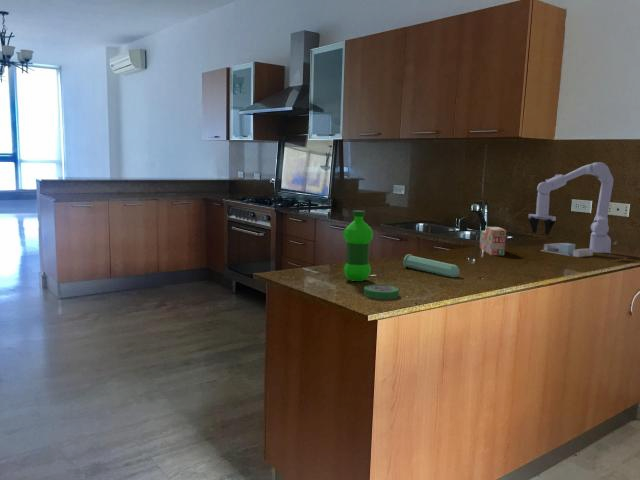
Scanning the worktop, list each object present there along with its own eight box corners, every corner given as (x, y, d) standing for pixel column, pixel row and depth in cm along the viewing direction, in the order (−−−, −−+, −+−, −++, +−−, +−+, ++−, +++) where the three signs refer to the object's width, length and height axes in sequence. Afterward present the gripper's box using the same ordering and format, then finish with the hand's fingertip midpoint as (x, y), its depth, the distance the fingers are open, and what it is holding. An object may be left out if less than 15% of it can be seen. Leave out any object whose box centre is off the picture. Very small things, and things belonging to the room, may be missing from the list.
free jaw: (555, 248, 272) (555, 242, 272) (560, 249, 269) (561, 243, 269) (541, 250, 267) (542, 243, 267) (547, 251, 265) (547, 244, 264)
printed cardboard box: (479, 248, 279) (480, 224, 277) (491, 248, 279) (493, 224, 277) (491, 255, 257) (492, 229, 256) (504, 255, 257) (506, 229, 256)
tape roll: (400, 293, 180) (400, 285, 179) (396, 301, 169) (396, 293, 169) (366, 291, 183) (367, 283, 182) (360, 298, 172) (361, 290, 172)
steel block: (565, 252, 264) (566, 242, 264) (574, 253, 260) (575, 244, 259) (558, 252, 262) (559, 243, 261) (567, 254, 258) (568, 244, 257)
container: (460, 261, 205) (411, 251, 225) (450, 269, 202) (401, 258, 222) (463, 275, 208) (414, 264, 227) (453, 282, 205) (404, 270, 224)
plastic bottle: (363, 284, 190) (365, 212, 187) (337, 281, 196) (338, 211, 192) (376, 279, 199) (378, 210, 195) (350, 276, 204) (352, 209, 201)
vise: (556, 251, 273) (557, 243, 272) (593, 257, 255) (594, 249, 255) (540, 252, 267) (540, 244, 266) (576, 259, 250) (577, 250, 249)
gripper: (525, 205, 276) (523, 232, 278) (549, 207, 263) (547, 235, 265) (534, 205, 279) (532, 231, 281) (559, 207, 267) (557, 235, 268)
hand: (540, 233), depth 273 cm, fingers open, 7 cm apart
